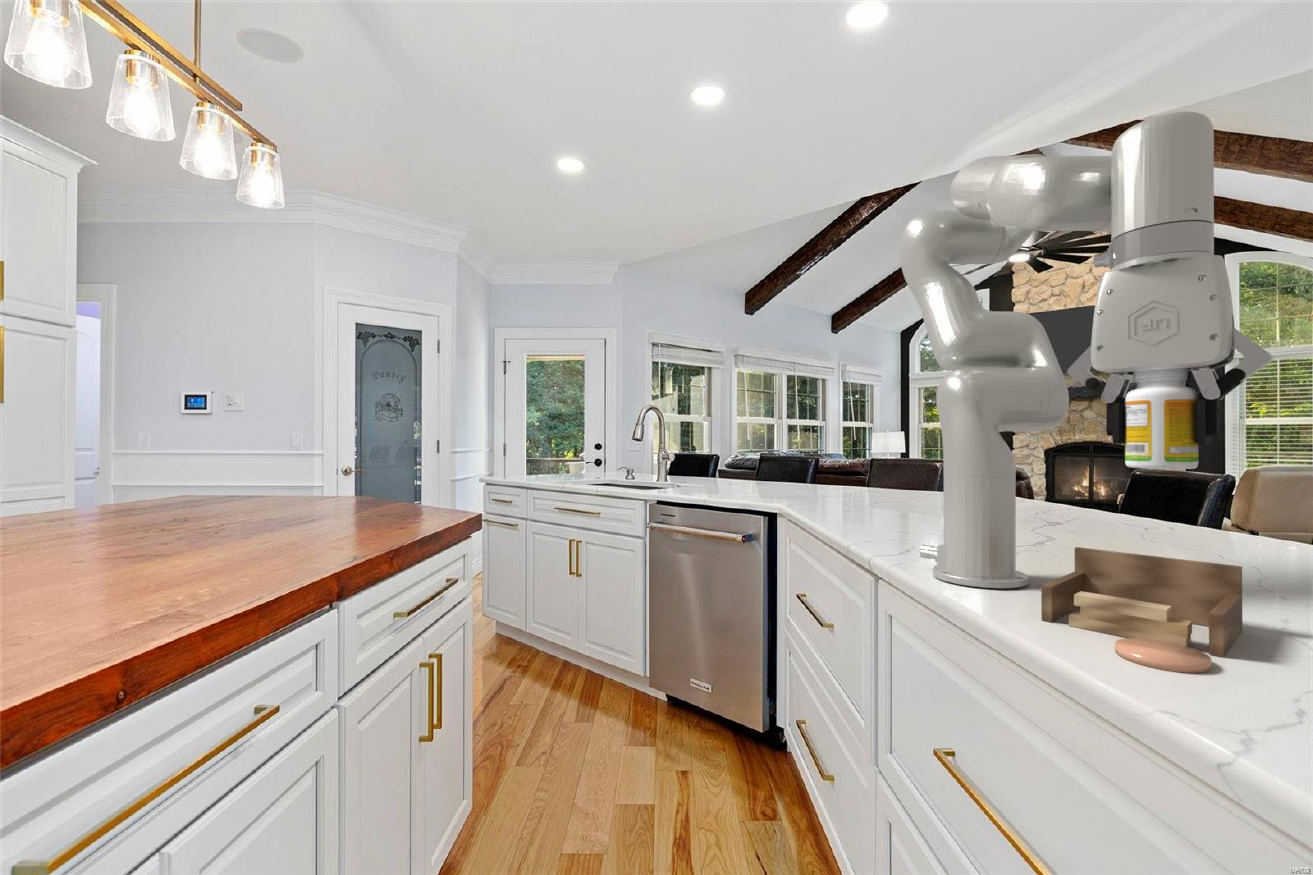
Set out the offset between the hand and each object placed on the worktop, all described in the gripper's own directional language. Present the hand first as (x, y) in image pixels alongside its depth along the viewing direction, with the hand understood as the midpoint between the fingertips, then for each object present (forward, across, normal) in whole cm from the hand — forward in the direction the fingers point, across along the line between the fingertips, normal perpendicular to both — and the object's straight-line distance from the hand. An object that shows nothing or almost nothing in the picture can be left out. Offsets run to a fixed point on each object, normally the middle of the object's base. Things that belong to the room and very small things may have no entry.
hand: (1160, 441), depth 58 cm
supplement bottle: (+3, 0, 0) cm, 3 cm away
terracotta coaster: (+21, 0, 0) cm, 21 cm away
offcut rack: (+21, -4, +11) cm, 24 cm away
